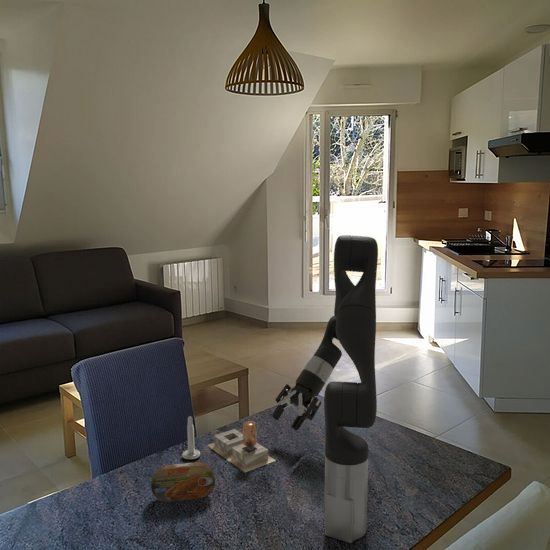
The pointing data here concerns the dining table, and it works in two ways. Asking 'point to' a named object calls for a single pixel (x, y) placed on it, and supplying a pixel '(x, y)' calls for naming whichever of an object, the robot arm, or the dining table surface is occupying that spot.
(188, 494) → the tin
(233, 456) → the white peg insertion board
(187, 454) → the screw
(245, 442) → the copper-coloured round peg
